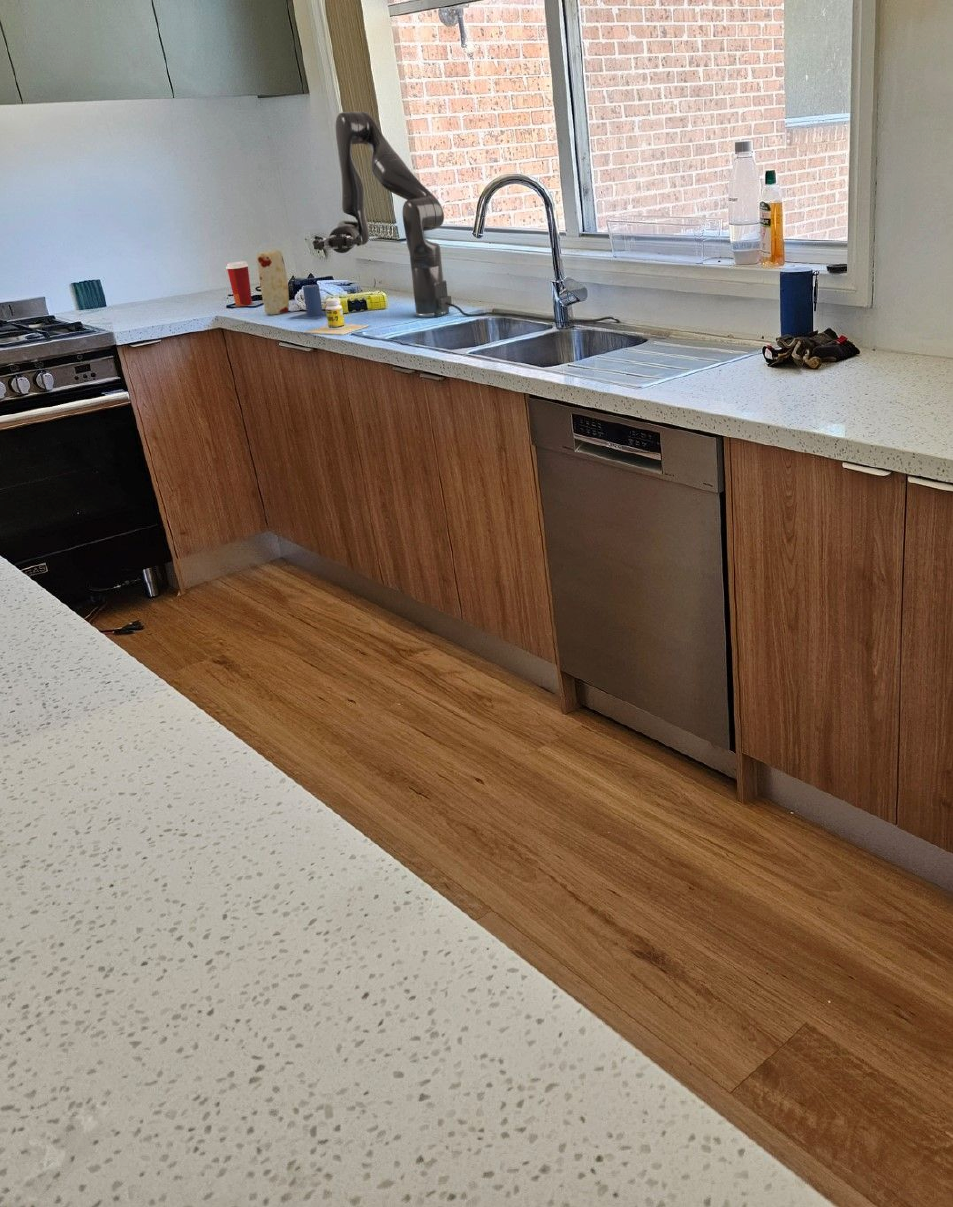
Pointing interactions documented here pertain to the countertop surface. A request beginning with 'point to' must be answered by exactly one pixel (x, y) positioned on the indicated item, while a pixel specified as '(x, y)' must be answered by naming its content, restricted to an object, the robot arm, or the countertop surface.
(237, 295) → the paper cup
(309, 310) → the blue rectangular block
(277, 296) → the food model
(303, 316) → the blue mat
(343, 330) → the cream mat
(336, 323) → the supplement bottle
